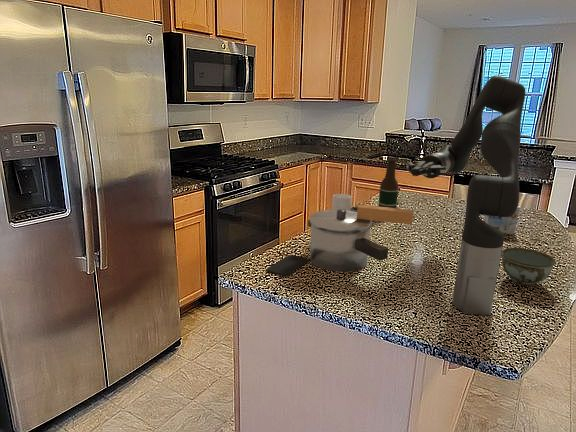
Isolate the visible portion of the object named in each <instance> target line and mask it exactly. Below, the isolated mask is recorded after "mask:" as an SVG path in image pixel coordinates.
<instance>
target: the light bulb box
mask: <svg viewBox="0 0 576 432" xmlns="http://www.w3.org/2000/svg"><path fill="white" fill-rule="evenodd" d="M519 213H520V207H519V206H518V207H517V210H516V212H515V213H514V214H513V215H512V216H510V217H497V216H489V215H484V220H483V221H484V222H485V223H487V224H489V225H491V226H493V227H495V228H497V229H499V230H500V231H502V232H503V234H507V235H508V234H509V235H515V232H516V228H517V222H518V217H519V215H520V214H519Z"/></svg>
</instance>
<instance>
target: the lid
mask: <svg viewBox="0 0 576 432" xmlns="http://www.w3.org/2000/svg"><path fill="white" fill-rule="evenodd" d="M414 211H415V210H414V209H406V208H397V207H396V208H388V207H378V205H375V206H374V205H365V204H358V208H357V212H354V211H347V210H342V209H339V210H332V209H325V210H324V209H323V210H319V211H315V212H313V213H312V214H310V217H309V218H310V219H309V220H310V223H311V225H312V226H314V227H316V228H318V229H321V230H325V231H329V232H336V233H357V232H363V231H366V230H368V229H370V230H371V228H372V226H373V221H375V222H376V221H377V222H385V223H394V224H403V225H413V220H414Z"/></svg>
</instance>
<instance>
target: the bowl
mask: <svg viewBox="0 0 576 432" xmlns="http://www.w3.org/2000/svg"><path fill="white" fill-rule="evenodd" d="M501 264H502V268H503V270H504V272H505V273H506V274H507V276H508V277H510V279H511V281H512V282H513V283H514V284H517V285H520V286H524V287H532V286H535V285H536V284H538V283H540V282H542V281H544V280H547V278H548V277H549V275H550V274H551V273H552V271H553V267H554V265H555V264H556V259H555V258H554V257H552V256H551V255H549V254H548V253H545V252H542V251H539V250H535V249H530V248H527V247H526V248H525V247H506V248H503V249H502V254H501Z"/></svg>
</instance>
